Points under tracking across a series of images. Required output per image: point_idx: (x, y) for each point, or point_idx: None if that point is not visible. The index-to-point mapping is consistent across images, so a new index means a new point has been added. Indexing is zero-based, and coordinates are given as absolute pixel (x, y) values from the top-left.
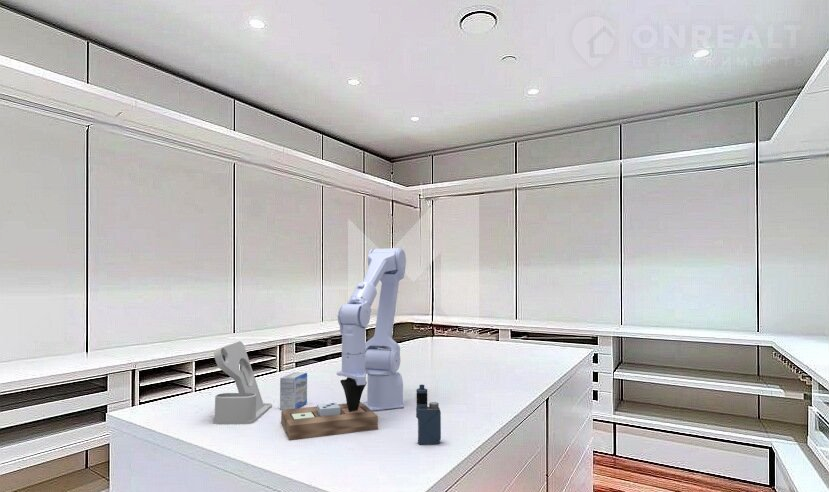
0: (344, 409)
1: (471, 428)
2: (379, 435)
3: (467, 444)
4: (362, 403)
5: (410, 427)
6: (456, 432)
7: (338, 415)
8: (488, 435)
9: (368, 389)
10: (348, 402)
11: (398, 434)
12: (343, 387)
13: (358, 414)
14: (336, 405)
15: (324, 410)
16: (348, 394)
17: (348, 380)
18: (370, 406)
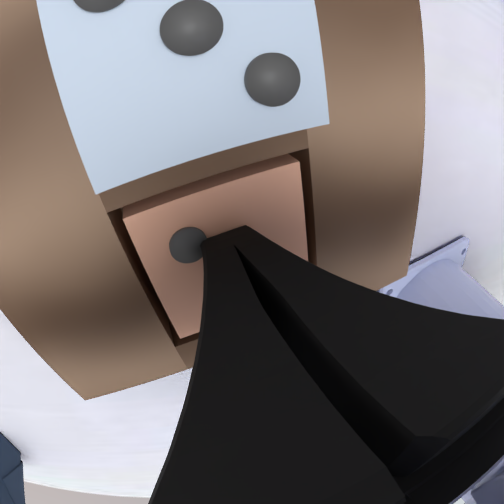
0: (271, 188)
1: (134, 484)
2: (3, 352)
3: (24, 476)
4: (377, 288)
5: (127, 421)
6: (99, 474)
7: (57, 155)
8: (92, 493)
9: (476, 310)
10: (204, 284)
11: (38, 400)
12: (403, 334)
13: (98, 313)
14: (194, 132)
15: (41, 2)
16: (193, 373)
17: (415, 479)
18: (416, 275)
